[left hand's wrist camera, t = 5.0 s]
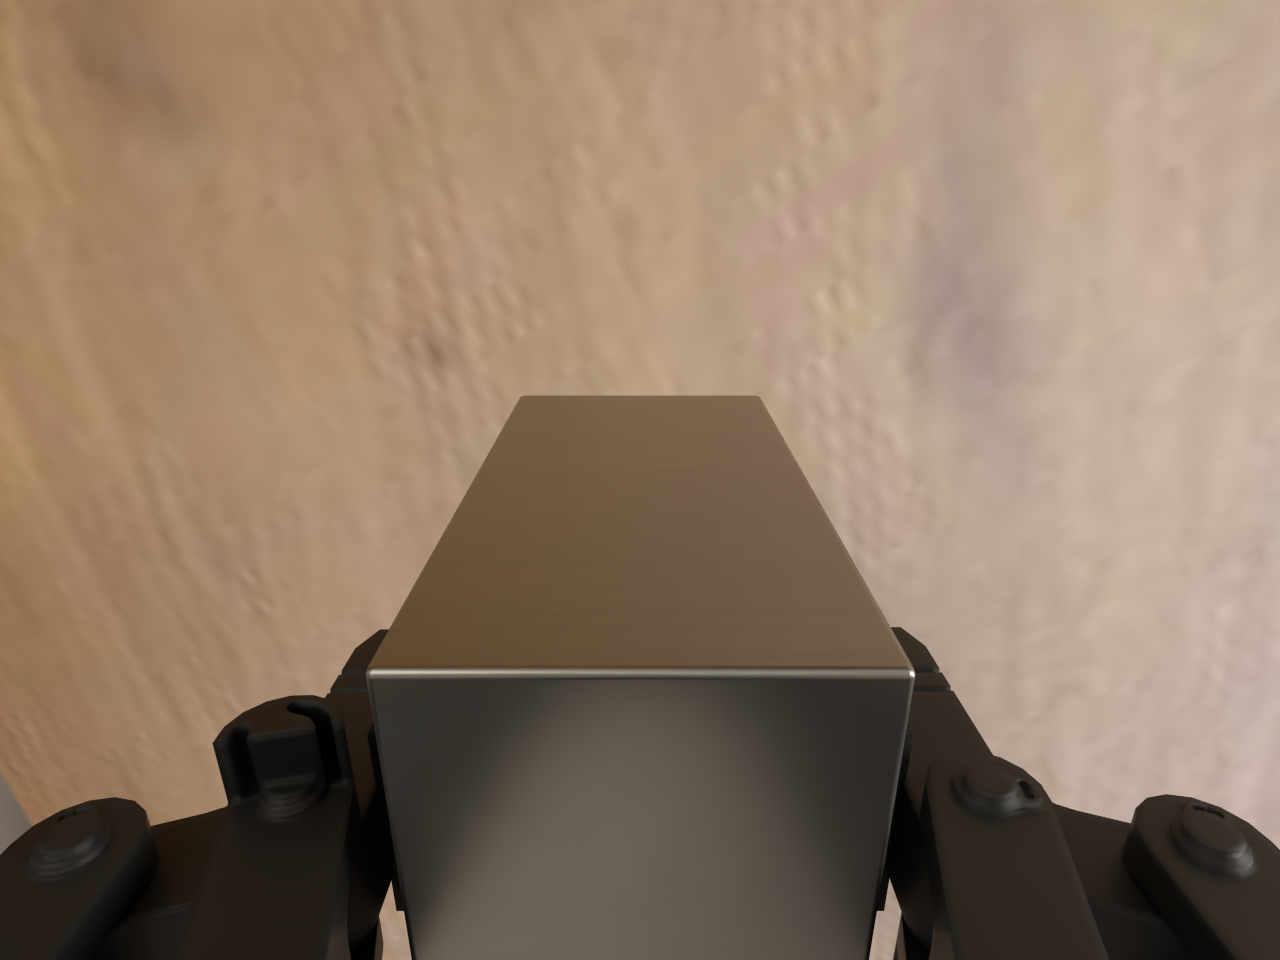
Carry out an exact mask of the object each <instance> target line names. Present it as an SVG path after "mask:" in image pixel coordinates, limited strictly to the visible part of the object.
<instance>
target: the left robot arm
mask: <svg viewBox="0 0 1280 960" xmlns="http://www.w3.org/2000/svg"><path fill="white" fill-rule="evenodd" d="M891 629H892V631H893V633H894V634H895V636H896V638H897V640H898V641H899V643H900V645H901V647H902V648H903V650H904V652H905V654H906V655H907V657H908V659H909V661H910V663H911V664H912V666H913V668H914V671H915V680H914V686H913V692H912V698H911V704H910V711H909V717H908V723H907V729H906V735H905V741H904V747H903V753H902V759H901V766H900V772H899V778H898V784H897V790H896V796H895V802H894V808H893V815H892V821H891V827H890V833H889V839H888V845H887V851H886V857H885V863H884V870H883V876H882V882H881V888H880V894H879V900H878V906H877V911H884V907H885V901H886V895H887V889H888V883H889V878H890V880H891V883H892V886H893V889H894V892H895V894H896V897H897V900H898V903H899V905H900V908H901V911H902V913H901V919H900V924H899V930H898V935H897V941H896V946H895V952H894V958H893V960H1280V850H1279V849H1278V848H1277V847H1276V846H1275V845H1274V844H1273V843H1272V842H1271V841H1270V840H1269V839H1268V838H1266V837H1265V836H1264V835H1263V834H1261V833H1260V832H1259V831H1258V830H1257V829H1255V828H1254V827H1253V826H1252V825H1251V824H1249V823H1248V822H1246V821H1244V820H1242V819H1241V818H1239V817H1237V816H1235V815H1233V814H1231V813H1230V812H1228V811H1226V810H1224V809H1222V808H1221V807H1218V806H1215V805H1212V804H1209V803H1206V802H1203V801H1200V800H1197V799H1195V798H1191V797H1183V796H1175V795H1167V794H1166V795H1160V796H1155V797H1149V798H1146V799H1145V800H1144V801H1143V802H1142V803H1141V804H1140V805H1139V806H1138V807H1137V808H1136V809H1135V812H1134V816H1133V819H1132V822H1131V823H1127V822H1122V821H1118V820H1114V819H1110V818H1105V817H1101V816H1097V815H1093V814H1089V813H1084V812H1080V811H1076V810H1073V809H1070V808H1066V807H1063V806H1060V805H1057V804H1054V803H1052V801H1051V800H1050V798H1049V797H1048V795H1047V793H1046V792H1045V790H1044V789H1043V787H1042V785H1041V784H1040V783H1039V782H1037V781H1036V780H1035V779H1034V778H1033V777H1032V776H1030V775H1029V774H1028V773H1027V772H1026V771H1025V770H1023V769H1022V768H1020V767H1018V766H1016V765H1014V764H1012V763H1010V762H1008V761H1006V760H1004V759H1002V758H1000V757H997V756H993V754H992V753H991V751H990V750H989V748H988V746H987V745H986V743H985V742H984V740H983V738H982V737H981V735H980V733H979V732H978V730H977V729H976V727H975V725H974V724H973V722H972V721H971V719H970V717H969V716H968V714H967V712H966V711H965V709H964V708H963V706H962V704H961V703H960V701H959V700H958V698H957V696H956V695H955V693H954V691H951V689H950V685H949V683H948V682H947V680H946V679H945V677H944V675H943V674H942V673H940V672H939V667H938V666H937V664H936V662H935V661H934V659H933V658H932V656H931V654H930V653H929V651H928V649H927V648H926V646H925V645H923V644H922V643H921V642H919V641H918V640H917V639H915V638H914V637H913V636H911V635H910V634H909V633H907V632H906V631H905V630H904V629H902V628H901V627H891ZM388 631H389V630H379V631H378V632H376V633H375V634H374V635H372V636H371V637H370V638H368V639H367V640H366V641H365V642H363V643H362V644H361V645H359V646H358V647H357V648H355V650H354V652H353V653H352V655H351V656H350V658H349V660H348V661H347V663H346V665H345V666H344V668H343V669H342V675H339V676H338V678H337V679H336V681H335V682H334V684H333V686H332V687H331V692H330V694H327V696H326V697H325V698H322V697H318V696H314V695H301V696H288V697H284V698H280V699H275V700H271V701H267V702H265V703H263V704H260V705H258V706H256V707H254V708H252V709H250V710H247V711H245V712H243V713H242V714H241V715H239V716H238V717H237V718H235V719H234V720H233V721H231V722H230V723H229V724H227V725H226V726H225V727H224V728H223V729H222V731H221V732H220V734H219V735H218V736H217V738H216V739H215V741H214V742H213V746H214V750H215V754H216V758H217V762H218V765H219V769H220V773H221V777H222V781H223V784H224V788H225V792H226V796H227V799H228V805H227V807H224V808H221V809H217V810H214V811H211V812H208V813H204V814H200V815H196V816H192V817H188V818H183V819H179V820H175V821H171V822H167V823H162V824H158V825H154V826H150V823H149V820H148V817H147V814H146V811H145V810H144V809H143V808H142V807H141V806H140V805H139V804H137V803H136V802H135V801H132V800H127V799H121V798H116V797H114V798H106V799H98V800H91V801H87V802H84V803H81V804H78V805H76V806H73V807H70V808H67V809H64V810H61V811H59V812H58V813H56V814H54V815H52V816H50V817H49V818H47V819H45V820H43V821H41V822H40V823H38V824H36V825H34V826H33V827H31V828H30V829H29V830H28V831H27V832H25V833H24V834H23V835H22V836H21V837H19V838H18V839H17V840H16V841H14V842H13V843H12V844H11V845H10V846H9V847H8V848H7V849H6V850H5V851H4V852H3V853H2V854H1V855H0V960H382V953H383V938H382V931H381V924H380V919H379V913H380V911H381V908H382V905H383V902H384V899H385V897H386V894H387V891H388V888H389V885H390V883H391V880H392V886H393V892H394V898H395V904H396V910H397V911H404V907H403V901H402V895H401V889H400V883H399V876H398V870H397V864H396V858H395V852H394V846H393V840H392V833H391V827H390V821H389V815H388V809H387V803H386V797H385V790H384V784H383V778H382V772H381V766H380V760H379V753H378V747H377V741H376V735H375V729H374V723H373V717H372V710H371V704H370V698H369V692H368V686H367V680H366V671H367V668H368V666H369V664H370V663H371V661H372V659H373V657H374V655H375V654H376V652H377V650H378V648H379V647H380V645H381V643H382V641H383V640H384V638H385V636H386V634H387V632H388Z"/></svg>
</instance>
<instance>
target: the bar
mask: <svg viewBox="0 0 1280 960" xmlns="http://www.w3.org/2000/svg"><path fill="white" fill-rule="evenodd" d="M366 680H367V686H368V692H369V698H370V704H371V710H372V717H373V723H374V729H375V735H376V741H377V747H378V753H379V760H380V766H381V772H382V778H383V784H384V790H385V797H386V803H387V809H388V815H389V821H390V827H391V833H392V840H393V846H394V852H395V858H396V864H397V870H398V876H399V883H400V889H401V895H402V901H403V907H404V913H405V920H406V926H407V932H408V938H409V944H410V950H411V956H412V960H869V955H870V949H871V943H872V937H873V931H874V925H875V919H876V912H877V906H878V900H879V894H880V888H881V882H882V876H883V870H884V863H885V857H886V851H887V845H888V839H889V833H890V827H891V821H892V815H893V808H894V802H895V796H896V790H897V784H898V778H899V772H900V766H901V759H902V753H903V747H904V741H905V735H906V729H907V723H908V717H909V711H910V704H911V698H912V692H913V686H914V680H915V671H914V668H913V666H912V664H911V663H910V661H909V659H908V657H907V655H906V654H905V652H904V650H903V648H902V647H901V645H900V643H899V641H898V640H897V638H896V636H895V634H894V633H893V631H892V629H891V627H890V626H889V624H888V622H887V620H886V619H885V617H884V615H883V613H882V611H881V610H880V608H879V606H878V604H877V603H876V601H875V599H874V597H873V596H872V594H871V592H870V590H869V589H868V587H867V585H866V583H865V582H864V580H863V578H862V576H861V574H860V573H859V571H858V569H857V567H856V566H855V564H854V562H853V560H852V559H851V557H850V555H849V553H848V552H847V550H846V548H845V546H844V545H843V543H842V541H841V539H840V537H839V536H838V534H837V532H836V530H835V529H834V527H833V525H832V523H831V522H830V520H829V518H828V516H827V515H826V513H825V511H824V509H823V508H822V506H821V504H820V502H819V500H818V499H817V497H816V495H815V493H814V492H813V490H812V488H811V486H810V485H809V483H808V481H807V479H806V478H805V476H804V474H803V472H802V471H801V469H800V467H799V465H798V464H797V462H796V460H795V458H794V456H793V455H792V453H791V451H790V449H789V448H788V446H787V444H786V442H785V441H784V439H783V437H782V435H781V434H780V432H779V430H778V428H777V427H776V425H775V423H774V421H773V419H772V418H771V416H770V414H769V412H768V411H767V409H766V407H765V405H764V404H763V402H762V400H761V398H760V397H758V396H522V397H520V399H519V401H518V403H517V404H516V406H515V408H514V410H513V411H512V413H511V415H510V417H509V418H508V420H507V422H506V424H505V426H504V427H503V429H502V431H501V433H500V434H499V436H498V438H497V440H496V441H495V443H494V445H493V447H492V449H491V450H490V452H489V454H488V456H487V457H486V459H485V461H484V463H483V464H482V466H481V468H480V470H479V472H478V473H477V475H476V477H475V479H474V480H473V482H472V484H471V486H470V487H469V489H468V491H467V493H466V495H465V496H464V498H463V500H462V502H461V503H460V505H459V507H458V509H457V510H456V512H455V514H454V516H453V518H452V519H451V521H450V523H449V525H448V526H447V528H446V530H445V532H444V533H443V535H442V537H441V539H440V541H439V542H438V544H437V546H436V548H435V549H434V551H433V553H432V555H431V556H430V558H429V560H428V562H427V564H426V565H425V567H424V569H423V571H422V572H421V574H420V576H419V578H418V579H417V581H416V583H415V585H414V587H413V588H412V590H411V592H410V594H409V595H408V597H407V599H406V601H405V602H404V604H403V606H402V608H401V610H400V611H399V613H398V615H397V617H396V618H395V620H394V622H393V624H392V625H391V627H390V629H389V631H388V632H387V634H386V636H385V638H384V640H383V641H382V643H381V645H380V647H379V648H378V650H377V652H376V654H375V655H374V657H373V659H372V661H371V663H370V664H369V666H368V668H367V671H366Z"/></svg>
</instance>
